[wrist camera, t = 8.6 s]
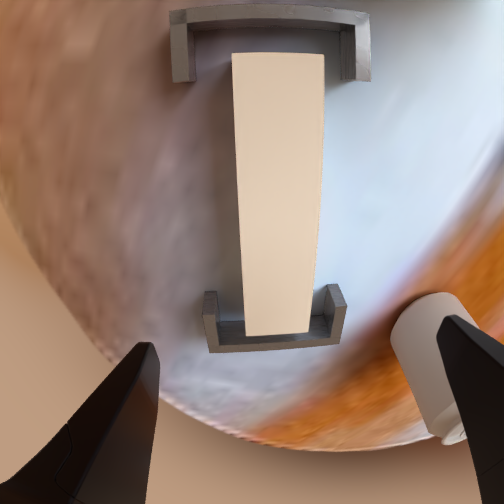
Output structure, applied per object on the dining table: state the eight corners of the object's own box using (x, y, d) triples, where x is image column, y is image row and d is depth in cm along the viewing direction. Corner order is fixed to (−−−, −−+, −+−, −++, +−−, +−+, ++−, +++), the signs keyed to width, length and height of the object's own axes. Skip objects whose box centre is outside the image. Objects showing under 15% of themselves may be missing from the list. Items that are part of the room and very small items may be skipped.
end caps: (352, 21, 13) (369, 13, 11) (331, 321, 24) (339, 343, 22) (178, 20, 13) (169, 11, 11) (211, 329, 24) (209, 353, 22)
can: (465, 305, 25) (526, 397, 14) (412, 354, 28) (455, 451, 17) (432, 272, 22) (510, 383, 12) (371, 332, 25) (418, 451, 15)
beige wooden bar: (305, 60, 15) (324, 54, 11) (298, 294, 23) (308, 332, 19) (233, 60, 15) (231, 53, 11) (244, 297, 23) (246, 336, 19)
